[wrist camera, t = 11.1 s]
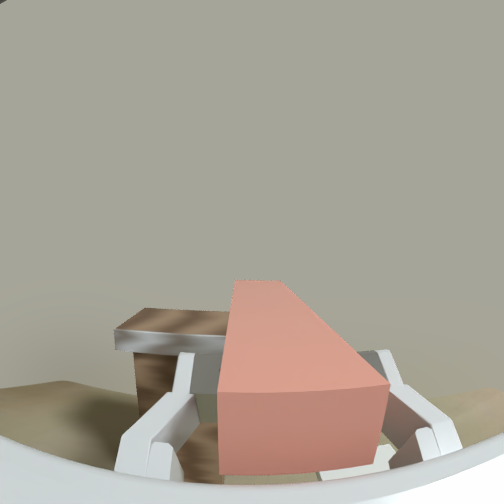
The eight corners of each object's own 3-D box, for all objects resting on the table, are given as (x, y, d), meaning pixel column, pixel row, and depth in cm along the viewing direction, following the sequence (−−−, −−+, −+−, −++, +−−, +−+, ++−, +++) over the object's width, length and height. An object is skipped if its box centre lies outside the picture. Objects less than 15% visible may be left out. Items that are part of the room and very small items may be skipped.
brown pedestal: (138, 490, 34) (113, 329, 33) (156, 445, 46) (145, 307, 45) (237, 500, 34) (239, 337, 33) (237, 451, 47) (239, 312, 46)
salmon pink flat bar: (219, 474, 7) (217, 391, 6) (234, 307, 29) (235, 280, 28) (372, 464, 7) (390, 383, 7) (279, 308, 29) (280, 280, 29)
